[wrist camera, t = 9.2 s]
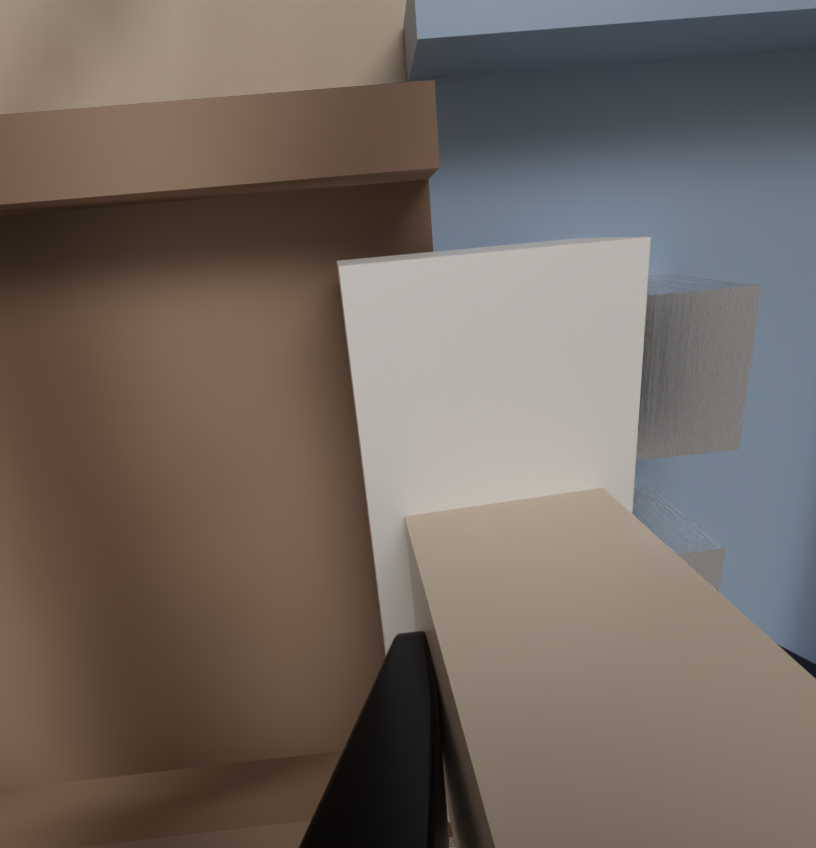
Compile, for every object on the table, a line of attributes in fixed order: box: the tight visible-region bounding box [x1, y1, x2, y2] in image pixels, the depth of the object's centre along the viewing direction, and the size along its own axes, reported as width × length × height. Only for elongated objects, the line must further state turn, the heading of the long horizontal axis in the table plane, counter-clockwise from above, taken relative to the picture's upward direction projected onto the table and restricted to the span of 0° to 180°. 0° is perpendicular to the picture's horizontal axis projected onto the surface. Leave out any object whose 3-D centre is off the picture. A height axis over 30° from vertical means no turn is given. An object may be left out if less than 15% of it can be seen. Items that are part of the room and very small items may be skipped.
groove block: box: [0, 80, 453, 848], centre depth 11 cm, size 13×14×4 cm
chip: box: [636, 273, 762, 460], centre depth 11 cm, size 3×3×3 cm
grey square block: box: [632, 483, 725, 592], centre depth 12 cm, size 3×3×3 cm
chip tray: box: [404, 0, 816, 664], centre depth 12 cm, size 12×18×3 cm, turn 5°
